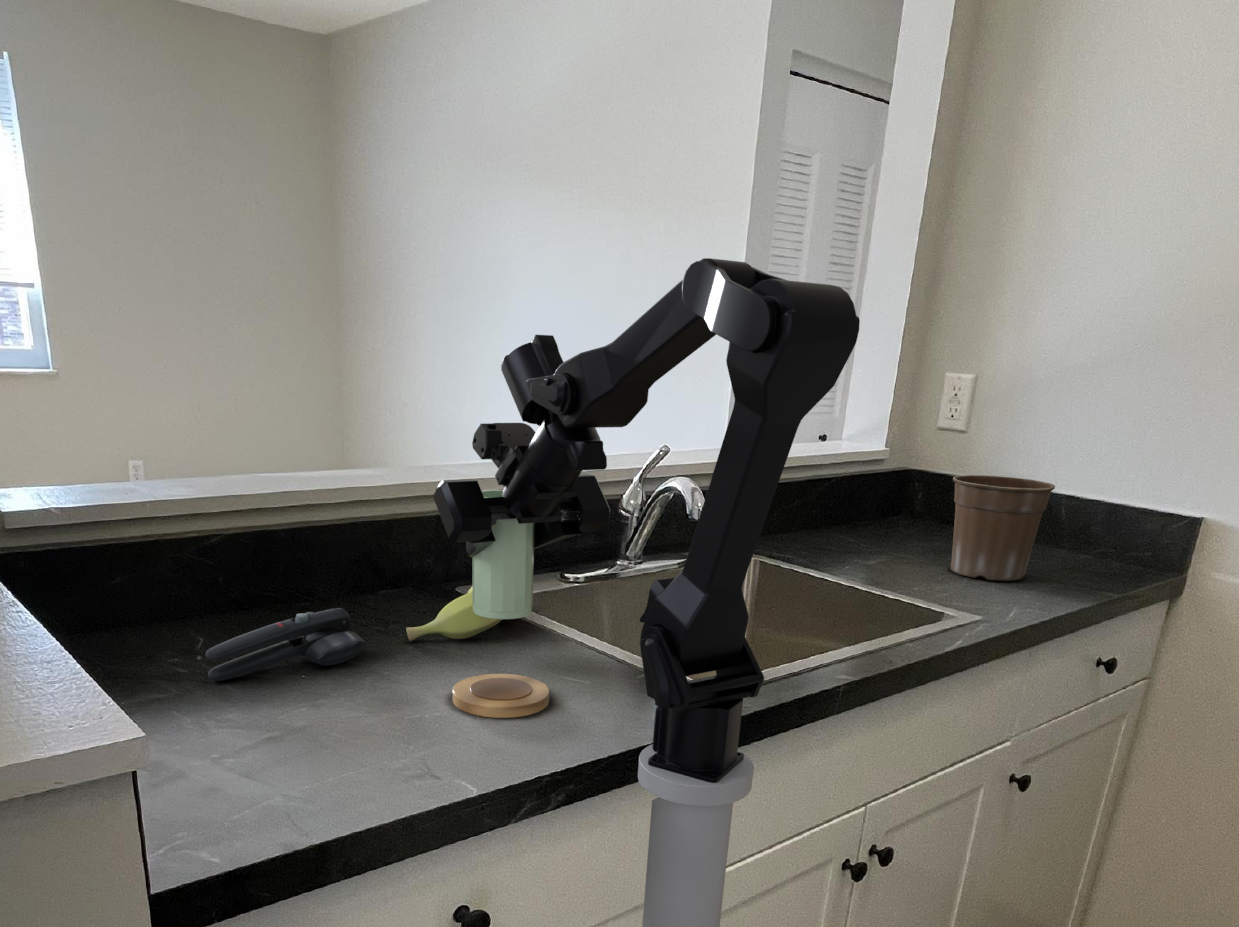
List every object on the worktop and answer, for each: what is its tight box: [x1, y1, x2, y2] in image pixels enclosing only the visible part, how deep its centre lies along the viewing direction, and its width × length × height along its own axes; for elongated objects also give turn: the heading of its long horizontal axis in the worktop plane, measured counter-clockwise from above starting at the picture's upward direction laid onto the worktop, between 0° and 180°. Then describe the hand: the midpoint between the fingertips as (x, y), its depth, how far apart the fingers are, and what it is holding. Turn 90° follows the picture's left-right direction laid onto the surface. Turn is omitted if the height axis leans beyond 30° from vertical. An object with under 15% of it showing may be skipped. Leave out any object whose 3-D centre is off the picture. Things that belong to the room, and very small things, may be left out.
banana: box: [405, 586, 504, 642], centre depth 126 cm, size 14×6×20 cm
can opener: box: [204, 607, 367, 682], centre depth 107 cm, size 18×7×6 cm, turn 135°
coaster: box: [452, 673, 550, 719], centre depth 101 cm, size 10×10×1 cm
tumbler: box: [471, 489, 535, 620], centre depth 107 cm, size 7×7×13 cm
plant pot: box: [950, 474, 1056, 582], centre depth 168 cm, size 16×16×16 cm
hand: (497, 550), depth 108 cm, fingers closed on tumbler, 7 cm apart
